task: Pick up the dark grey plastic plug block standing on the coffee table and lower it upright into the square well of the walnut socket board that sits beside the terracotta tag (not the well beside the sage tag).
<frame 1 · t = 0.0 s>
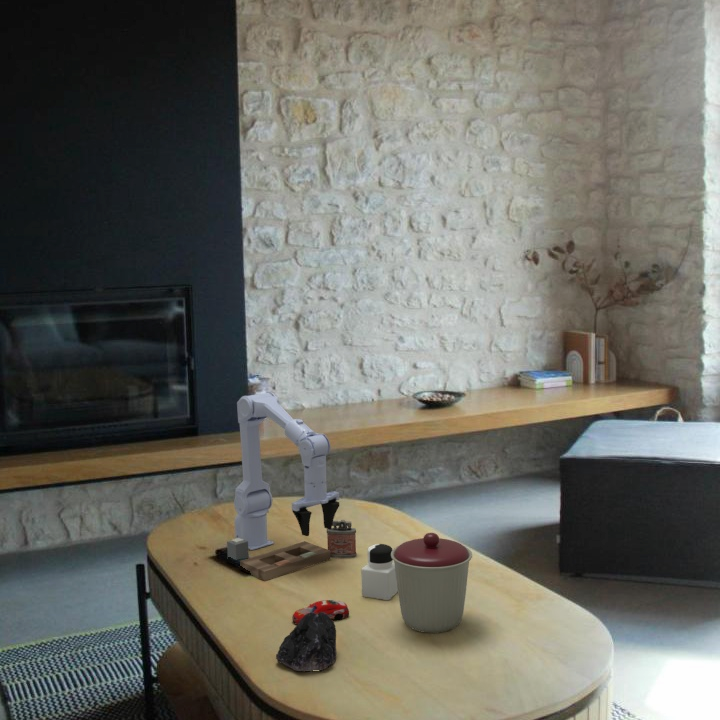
hand: (316, 531, 248), 10 cm above the table, tool pointing down, fingers open, 7 cm apart
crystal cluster: (308, 660, 197), on the table
race car: (320, 620, 218), on the table
canister: (432, 624, 214), on the table
plug: (238, 562, 255), on the table
socket board: (285, 564, 253), on the table
lighter: (341, 556, 259), on the table
medicine bottle: (380, 594, 232), on the table
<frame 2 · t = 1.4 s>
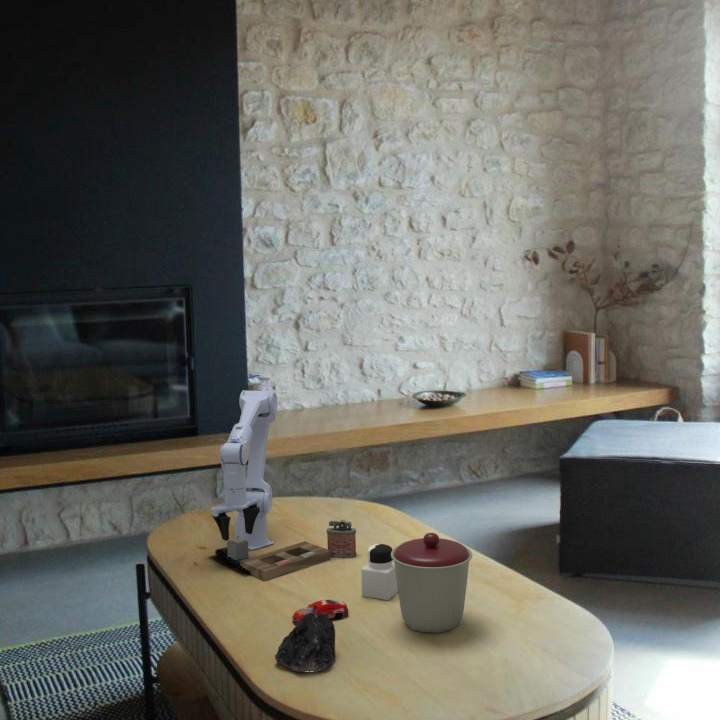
hand: (237, 536, 254), 7 cm above the table, tool pointing down, fingers open, 7 cm apart
nothing on the table moved.
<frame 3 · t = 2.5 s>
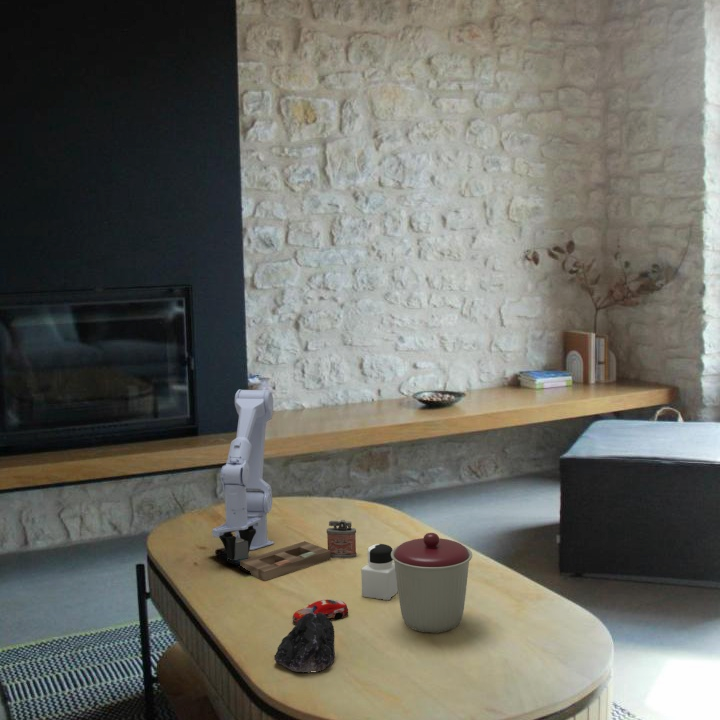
hand: (238, 556, 255), 2 cm above the table, tool pointing down, fingers closed on plug, 4 cm apart
plug: (238, 562, 255), on the table, touching gripper
everything else where it was.
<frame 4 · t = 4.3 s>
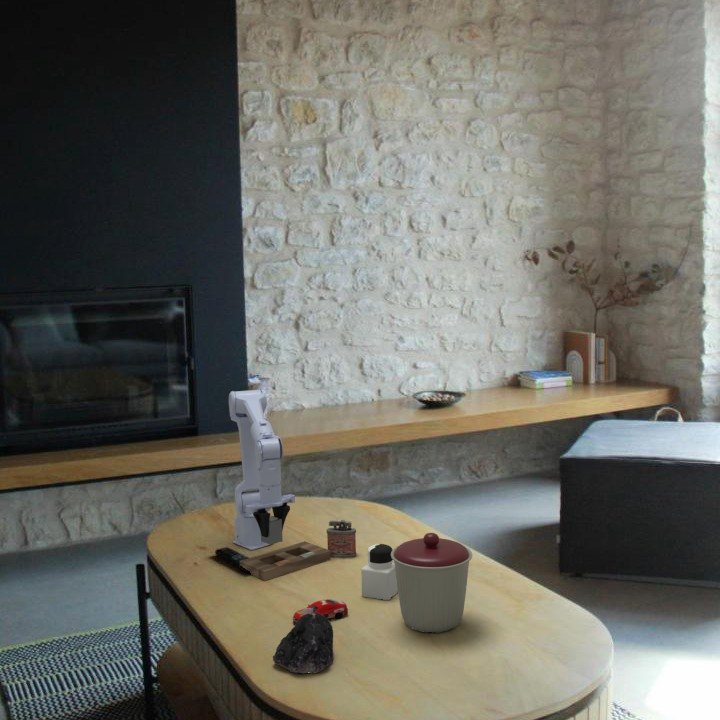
hand: (271, 534, 249), 9 cm above the table, tool pointing down, fingers closed on plug, 4 cm apart
plug: (271, 541, 249), point 7 cm above the table, touching gripper
everything else where it was.
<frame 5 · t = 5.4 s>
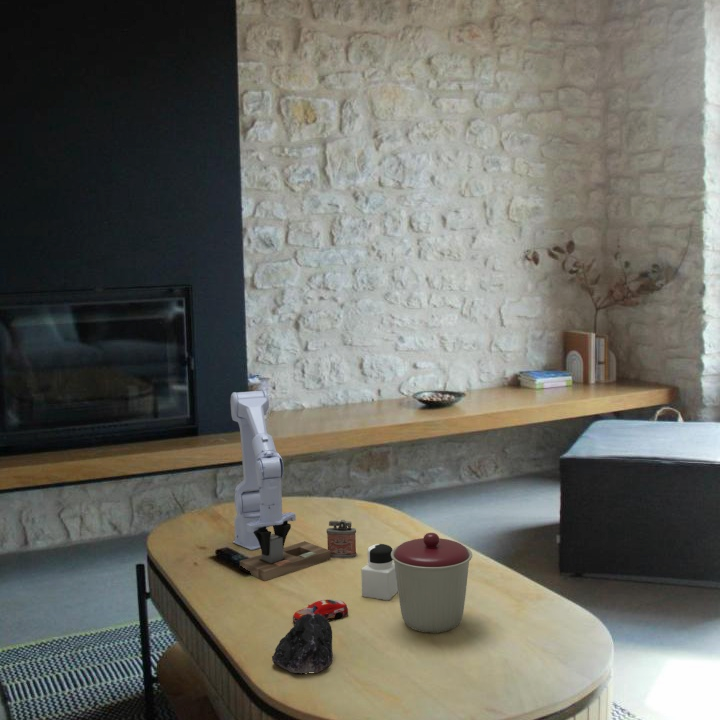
hand: (272, 552, 249), 4 cm above the table, tool pointing down, fingers closed on plug, 4 cm apart
plug: (272, 559, 250), point 3 cm above the table, touching gripper
when the fingers open (3 cm above the table, at t = 6.3 s): plug stays where it is, resting in socket board.
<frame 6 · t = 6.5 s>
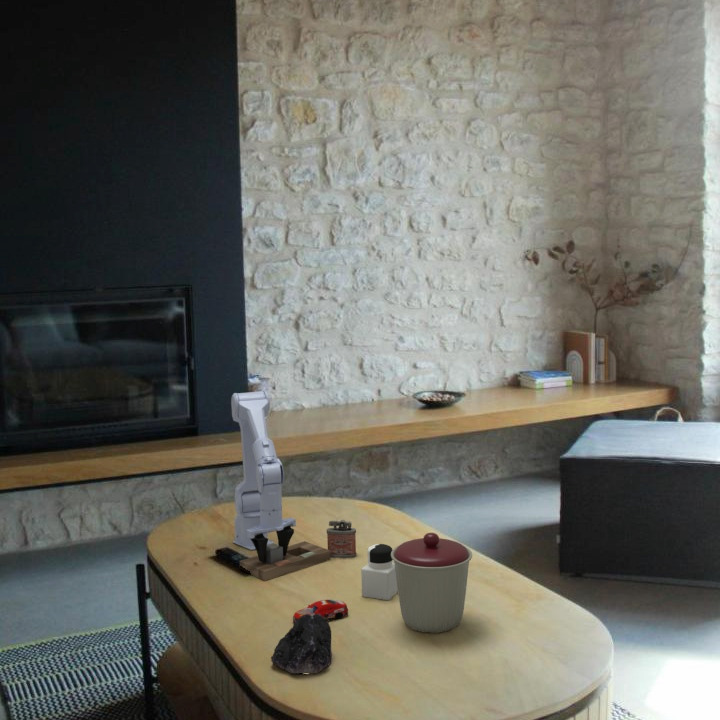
hand: (272, 558, 250), 3 cm above the table, tool pointing down, fingers open, 6 cm apart
plug: (272, 569, 250), resting in socket board
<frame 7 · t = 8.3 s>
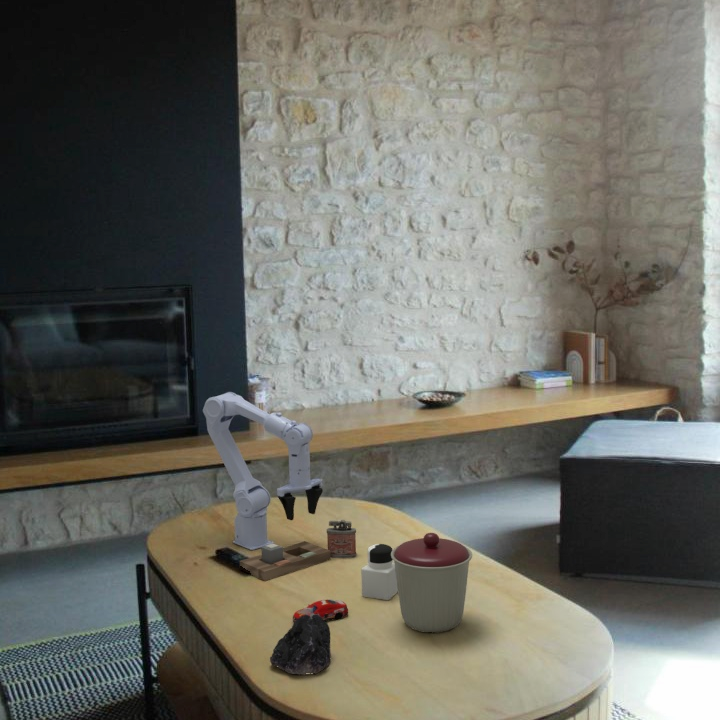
hand: (301, 516, 262), 10 cm above the table, tool pointing down, fingers open, 7 cm apart
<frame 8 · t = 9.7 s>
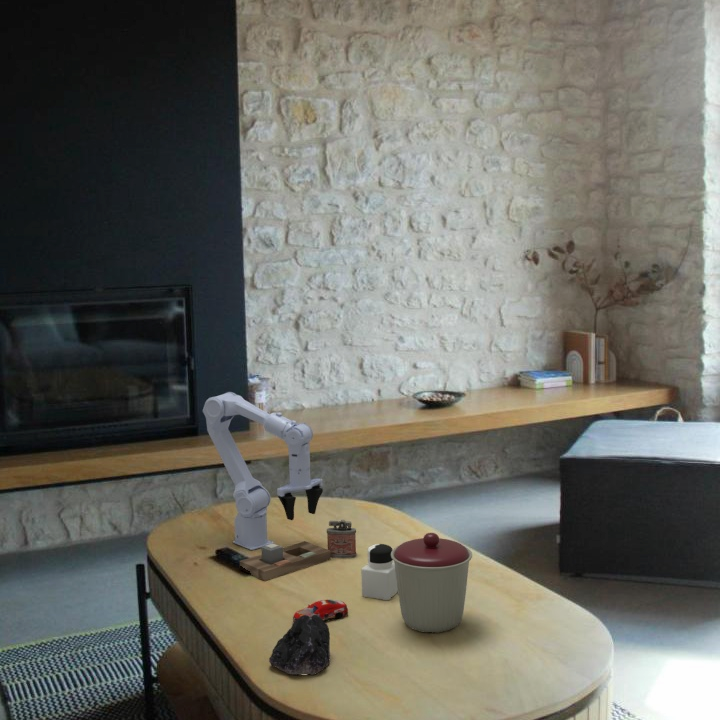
hand: (301, 516, 262), 10 cm above the table, tool pointing down, fingers open, 7 cm apart
at the end: plug 0.1 cm from the target spot on the socket board, point 0.0 cm above the socket board's base; plug tilted 0°; the gripper is holding nothing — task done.
